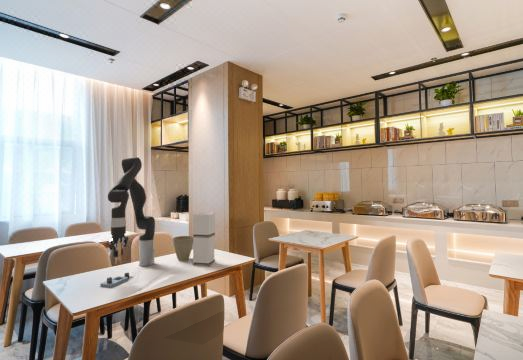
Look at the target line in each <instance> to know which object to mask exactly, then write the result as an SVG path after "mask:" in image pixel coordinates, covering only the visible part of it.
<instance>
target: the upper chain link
mask: <svg viewBox="0 0 523 360" xmlns="http://www.w3.org/2000/svg"><path fill="white" fill-rule="evenodd" d="M127 281H128V277H123V276H121V275H118V276H115V277H112V276H109V277H106V280H105V281H104V282H101V283H100V287H102V288H103V287H104V288H114V287H116V286H118V285H120V284H123V283H124V282H127ZM122 282H123V283H122Z"/></svg>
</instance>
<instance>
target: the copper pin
mask: <svg viewBox="0 0 523 360" xmlns="http://www.w3.org/2000/svg"><path fill="white" fill-rule="evenodd" d="M115 245H117V244H115ZM115 248H116V246H115ZM117 251H118V257H114V259H115V262H114V263H115V265H122V256H121V242H120V243H119V246H118V250H117Z"/></svg>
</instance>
